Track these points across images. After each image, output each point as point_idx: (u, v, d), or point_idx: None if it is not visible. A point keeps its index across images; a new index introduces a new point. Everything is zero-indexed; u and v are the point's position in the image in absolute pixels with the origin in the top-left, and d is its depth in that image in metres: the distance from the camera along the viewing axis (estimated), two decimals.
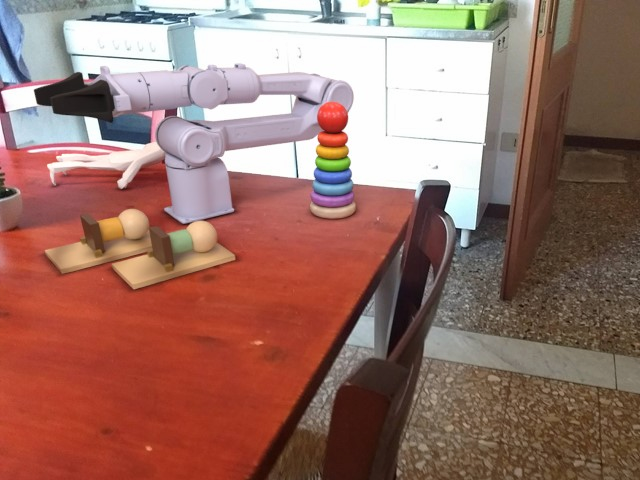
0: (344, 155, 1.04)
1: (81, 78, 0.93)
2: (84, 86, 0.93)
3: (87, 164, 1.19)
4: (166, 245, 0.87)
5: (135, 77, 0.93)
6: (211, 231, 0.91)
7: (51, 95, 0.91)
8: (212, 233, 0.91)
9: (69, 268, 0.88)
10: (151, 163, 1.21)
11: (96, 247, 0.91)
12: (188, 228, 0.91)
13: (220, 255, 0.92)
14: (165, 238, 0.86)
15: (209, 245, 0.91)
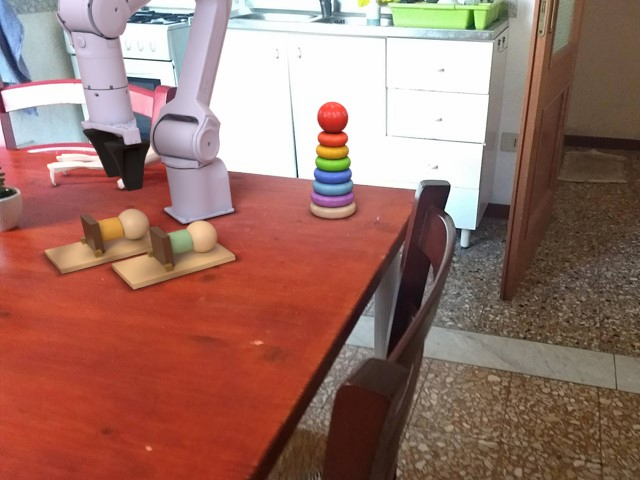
0: (344, 155, 1.04)
1: (92, 134, 0.91)
2: (100, 132, 0.91)
3: (87, 164, 1.19)
4: (166, 245, 0.87)
5: (92, 98, 0.84)
6: (211, 231, 0.91)
7: (113, 163, 0.94)
8: (212, 233, 0.91)
9: (69, 268, 0.88)
10: (151, 163, 1.21)
11: (96, 247, 0.91)
12: (188, 228, 0.91)
13: (220, 255, 0.92)
14: (165, 238, 0.86)
15: (209, 245, 0.91)
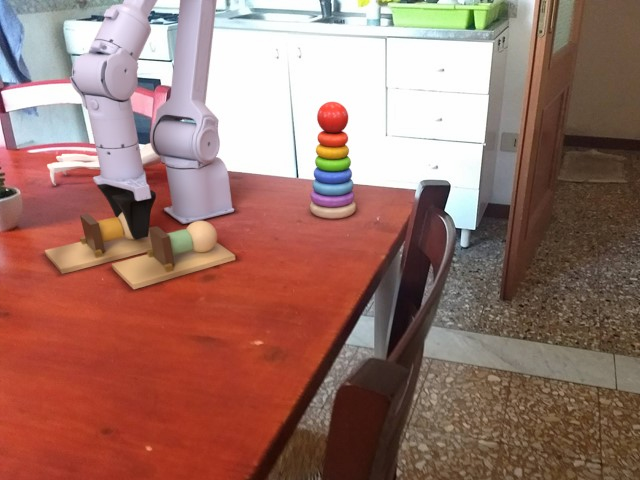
0: (344, 155, 1.04)
1: (106, 189, 0.94)
2: (114, 186, 0.94)
3: (87, 164, 1.19)
4: (166, 245, 0.87)
5: (104, 156, 0.88)
6: (211, 231, 0.91)
7: None
8: (212, 233, 0.91)
9: (69, 268, 0.88)
10: (151, 163, 1.21)
11: (96, 247, 0.91)
12: (188, 228, 0.91)
13: (220, 255, 0.92)
14: (165, 238, 0.86)
15: (209, 245, 0.91)
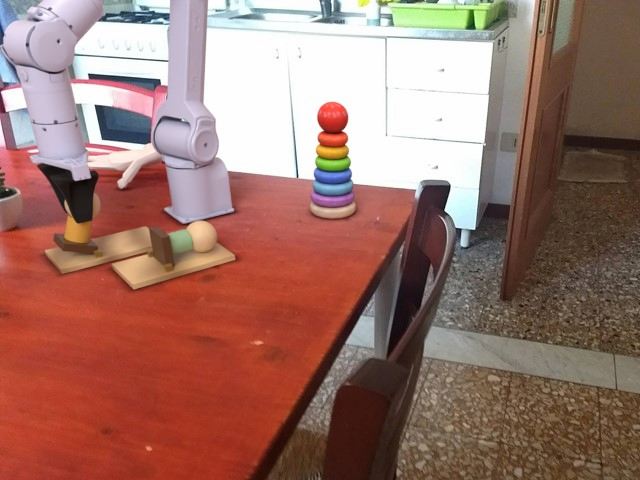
0: (344, 155, 1.04)
1: (46, 169, 0.87)
2: (54, 166, 0.88)
3: None
4: (166, 245, 0.87)
5: (40, 132, 0.82)
6: (211, 231, 0.91)
7: None
8: (212, 233, 0.91)
9: (69, 268, 0.88)
10: (151, 163, 1.21)
11: (89, 252, 0.91)
12: (188, 228, 0.91)
13: (220, 255, 0.92)
14: (165, 238, 0.86)
15: (209, 245, 0.91)
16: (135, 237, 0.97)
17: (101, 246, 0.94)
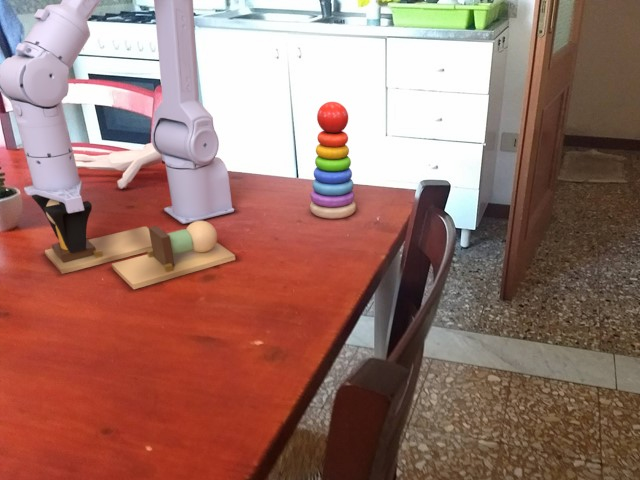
0: (344, 155, 1.04)
1: (40, 200, 0.88)
2: None
3: (87, 164, 1.19)
4: (166, 245, 0.87)
5: (34, 165, 0.83)
6: (211, 231, 0.91)
7: None
8: (212, 233, 0.91)
9: (69, 268, 0.88)
10: (151, 163, 1.21)
11: (89, 255, 0.91)
12: (188, 228, 0.91)
13: (220, 255, 0.92)
14: (165, 238, 0.86)
15: (209, 245, 0.91)
16: (135, 237, 0.97)
17: (101, 246, 0.94)
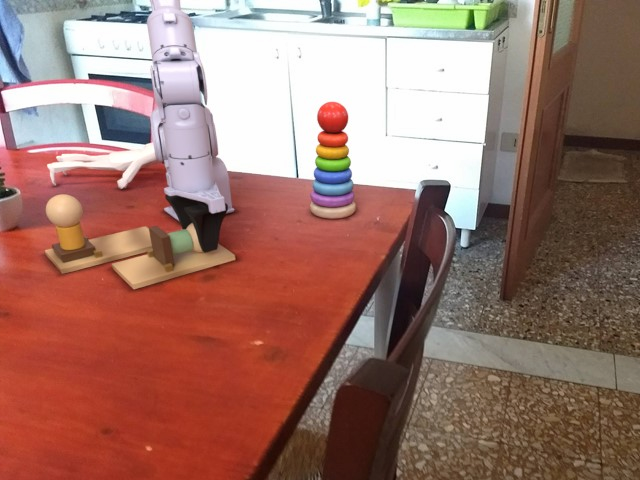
0: (344, 155, 1.04)
1: (175, 200, 0.90)
2: (182, 197, 0.91)
3: (87, 164, 1.19)
4: (166, 245, 0.87)
5: (177, 166, 0.84)
6: None
7: None
8: None
9: (69, 268, 0.88)
10: (151, 163, 1.21)
11: (89, 255, 0.91)
12: (188, 228, 0.91)
13: (220, 255, 0.92)
14: (165, 238, 0.86)
15: None
16: (135, 237, 0.97)
17: (101, 246, 0.94)
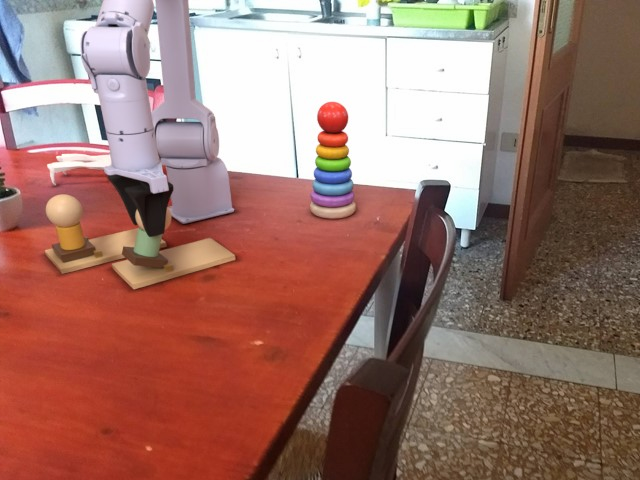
0: (344, 155, 1.04)
1: (117, 181, 0.84)
2: (126, 178, 0.84)
3: (87, 164, 1.19)
4: (143, 263, 0.86)
5: (116, 143, 0.78)
6: None
7: None
8: None
9: (69, 268, 0.88)
10: None
11: (89, 255, 0.91)
12: (139, 225, 0.86)
13: (220, 255, 0.92)
14: (136, 261, 0.85)
15: None
16: (135, 237, 0.97)
17: (101, 246, 0.94)
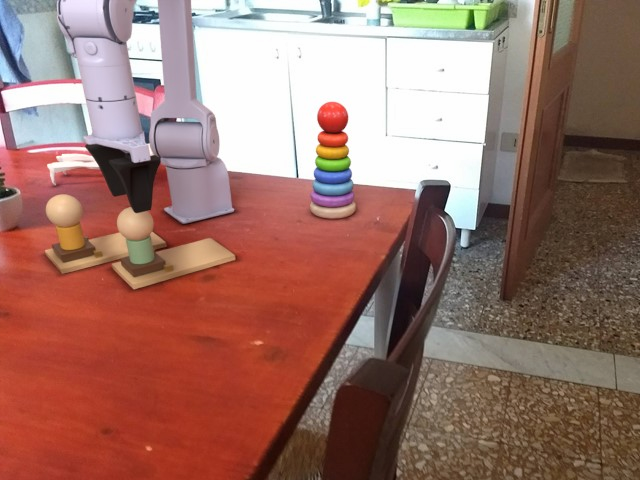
0: (344, 155, 1.04)
1: (95, 149, 0.82)
2: (104, 147, 0.82)
3: (87, 164, 1.19)
4: (142, 271, 0.86)
5: (96, 110, 0.75)
6: (130, 223, 0.83)
7: (118, 181, 0.85)
8: (132, 222, 0.83)
9: (69, 268, 0.88)
10: None
11: (89, 255, 0.91)
12: (125, 237, 0.85)
13: (220, 255, 0.92)
14: (134, 273, 0.85)
15: (146, 226, 0.84)
16: None
17: (101, 246, 0.94)
